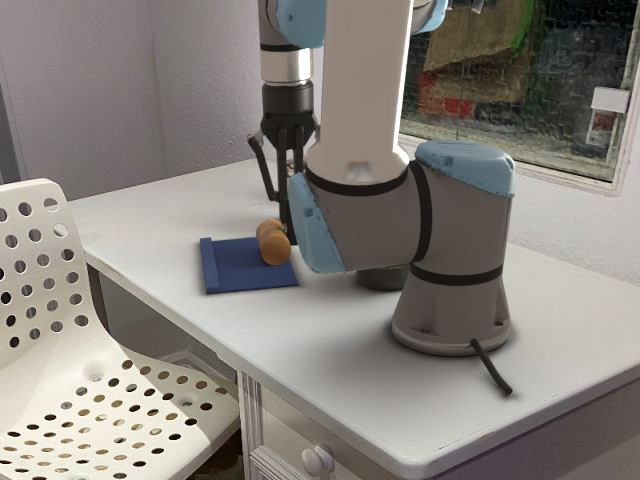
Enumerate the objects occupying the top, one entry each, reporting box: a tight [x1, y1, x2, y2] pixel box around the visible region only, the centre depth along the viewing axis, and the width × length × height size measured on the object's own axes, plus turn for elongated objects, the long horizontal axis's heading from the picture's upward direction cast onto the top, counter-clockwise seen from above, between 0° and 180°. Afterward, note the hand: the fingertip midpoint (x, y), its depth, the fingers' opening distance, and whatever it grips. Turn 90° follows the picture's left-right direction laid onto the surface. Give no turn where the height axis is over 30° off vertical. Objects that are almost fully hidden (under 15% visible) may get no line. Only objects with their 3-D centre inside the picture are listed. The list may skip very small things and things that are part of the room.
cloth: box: [199, 236, 300, 295], centre depth 132 cm, size 22×14×1 cm, turn 6°
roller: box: [255, 218, 292, 266], centre depth 131 cm, size 8×5×5 cm, turn 6°
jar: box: [355, 263, 410, 292], centre depth 121 cm, size 10×10×8 cm
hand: (292, 242), depth 132 cm, fingers closed
